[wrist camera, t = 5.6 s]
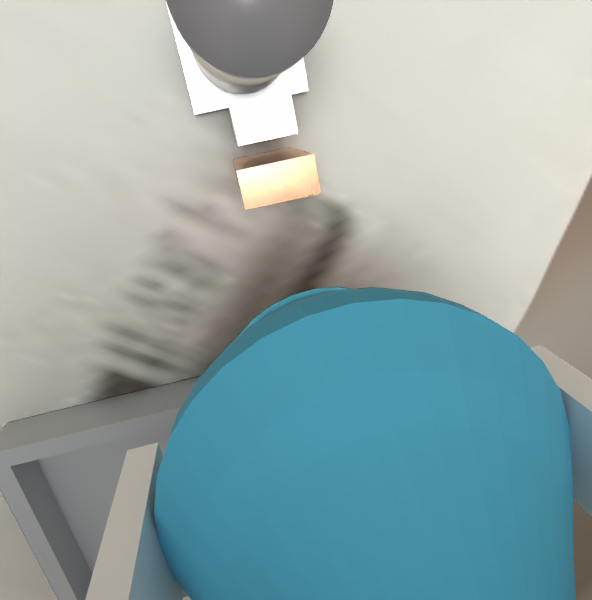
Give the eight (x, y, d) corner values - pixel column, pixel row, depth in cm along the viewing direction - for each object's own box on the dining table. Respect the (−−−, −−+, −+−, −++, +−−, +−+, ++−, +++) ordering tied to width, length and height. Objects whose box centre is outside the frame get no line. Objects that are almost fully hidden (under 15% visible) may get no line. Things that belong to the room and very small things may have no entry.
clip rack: (293, 501, 32) (310, 595, 26) (154, -48, 21) (123, -124, 15) (373, 480, 33) (410, 568, 26) (278, -71, 22) (301, -156, 15)
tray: (90, 594, 33) (78, 638, 30) (7, 422, 28) (-18, 455, 25) (292, 540, 34) (298, 578, 31) (246, 364, 29) (248, 390, 26)
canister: (203, 105, 23) (188, 90, 14) (176, -5, 21) (138, -108, 12) (297, 86, 23) (346, 58, 14) (278, -25, 22) (318, -140, 12)
